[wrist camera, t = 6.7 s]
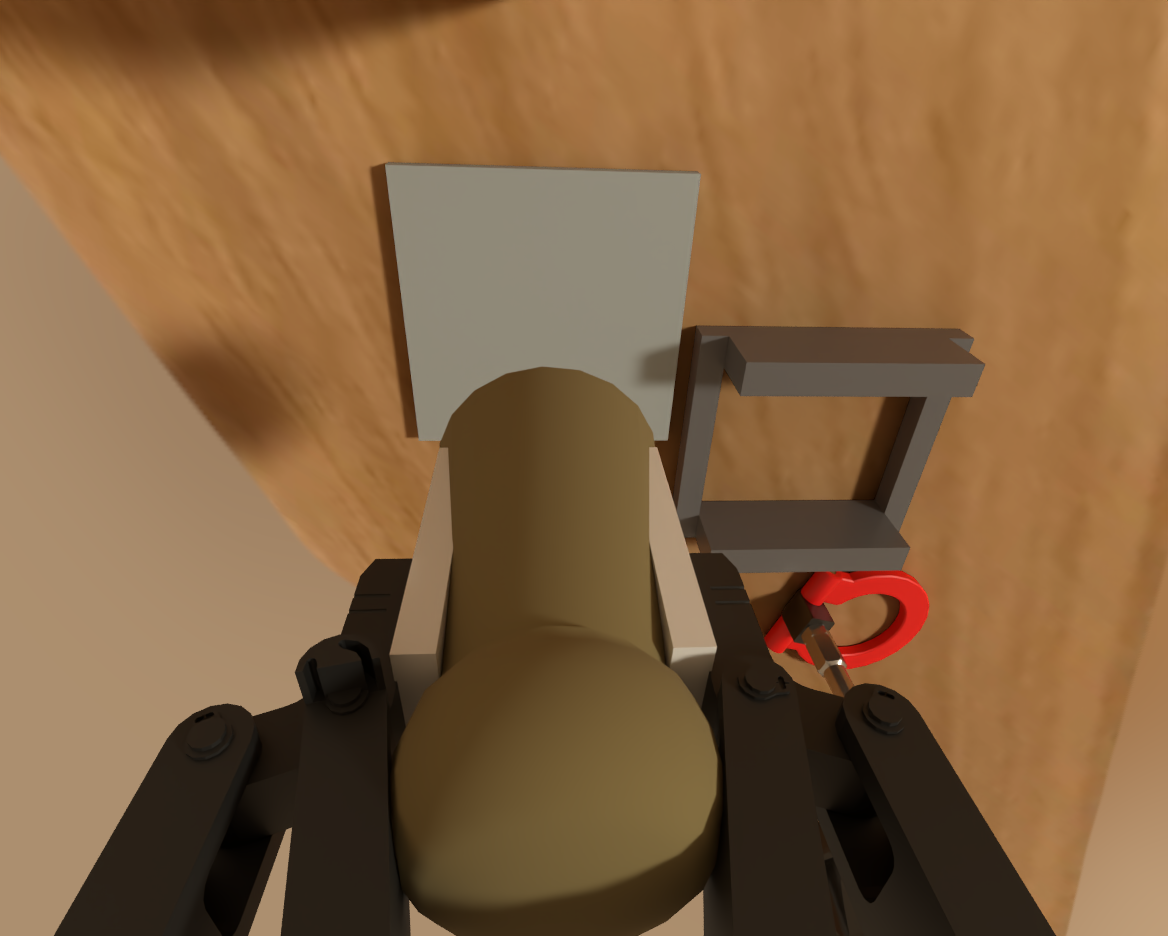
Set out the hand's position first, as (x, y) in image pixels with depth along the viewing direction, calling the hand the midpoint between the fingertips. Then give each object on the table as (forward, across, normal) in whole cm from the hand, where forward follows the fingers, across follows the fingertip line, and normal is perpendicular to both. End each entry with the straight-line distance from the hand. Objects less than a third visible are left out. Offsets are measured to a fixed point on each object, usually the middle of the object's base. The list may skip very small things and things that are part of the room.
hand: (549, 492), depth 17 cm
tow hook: (+14, -19, +19) cm, 30 cm away
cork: (+1, 0, 0) cm, 1 cm away
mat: (+13, 0, 0) cm, 13 cm away
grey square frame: (+13, -13, +6) cm, 20 cm away
